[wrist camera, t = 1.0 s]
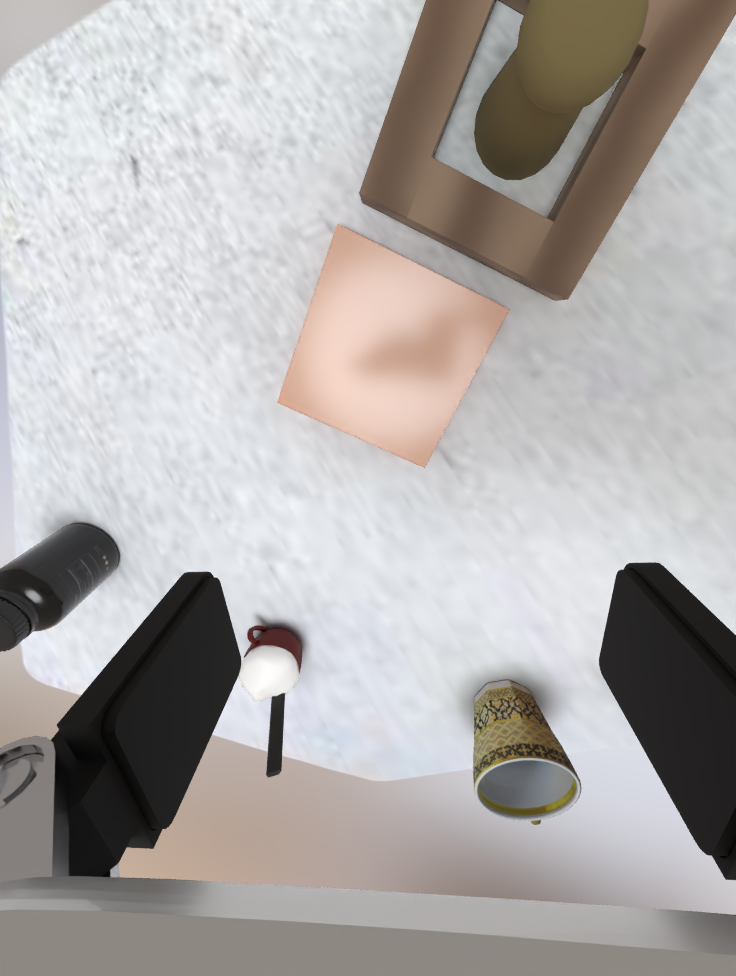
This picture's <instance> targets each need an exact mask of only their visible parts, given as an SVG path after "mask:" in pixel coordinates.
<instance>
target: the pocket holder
mask: <svg viewBox="0 0 736 976" xmlns="http://www.w3.org/2000/svg"><path fill="white" fill-rule="evenodd" d="M499 1H501V2H502V3H504V4H506V5H508V6H509V7H511V8H513V9H514V10H516V11H518V12H520V13H521V14H523V15H525V12H526V9H527V6H528V4H529V1H530V0H499ZM495 3H496V0H426V2H425V5H424V8H423V11H422V13H421V16H420V19H419V22H418V25H417V28H416V31H415V34H414V37H413V39H412V42H411V45H410V48H409V51H408V54H407V57H406V60H405V63H404V65H403V68H402V71H401V74H400V77H399V80H398V83H397V86H396V89H395V91H394V94H393V97H392V100H391V103H390V106H389V109H388V112H387V114H386V117H385V120H384V123H383V126H382V129H381V132H380V135H379V138H378V140H377V143H376V146H375V149H374V152H373V155H372V158H371V161H370V164H369V166H368V169H367V172H366V175H365V178H364V181H363V184H362V187H361V189H360V192H359V194H360V197H361V200H362V203H364V204H366V205H368V206H370V207H372V208H374V209H376V210H378V211H380V212H382V213H384V214H386V215H388V216H390V217H391V218H393V219H395V220H397V221H399V222H401V223H403V224H405V225H407V226H409V227H411V228H413V229H415V230H417V231H419V232H421V233H423V234H425V235H427V236H429V237H431V238H433V239H435V240H437V241H439V242H441V243H443V244H445V245H447V246H449V247H451V248H453V249H455V250H457V251H459V252H461V253H463V254H465V255H467V256H468V257H470V258H472V259H474V260H476V261H478V262H480V263H482V264H484V265H486V266H488V267H490V268H492V269H494V270H496V271H498V272H500V273H502V274H504V275H506V276H508V277H510V278H512V279H514V280H516V281H518V282H520V283H522V284H524V285H526V286H528V287H530V288H532V289H534V290H536V291H538V292H540V293H542V294H543V295H545V296H547V297H549V298H551V299H553V300H565V299H568V298H569V297H570V295H571V293H572V292H573V290H574V288H575V286H576V285H577V283H578V281H579V280H580V278H581V276H582V275H583V273H584V271H585V269H586V268H587V266H588V264H589V263H590V261H591V259H592V258H593V256H594V254H595V253H596V251H597V249H598V247H599V246H600V244H601V242H602V241H603V239H604V237H605V236H606V234H607V232H608V230H609V229H610V227H611V225H612V224H613V222H614V220H615V219H616V217H617V215H618V213H619V212H620V210H621V208H622V207H623V205H624V203H625V202H626V200H627V198H628V196H629V195H630V193H631V191H632V190H633V188H634V186H635V185H636V183H637V181H638V179H639V178H640V176H641V174H642V173H643V171H644V169H645V168H646V166H647V164H648V162H649V161H650V159H651V157H652V156H653V154H654V152H655V151H656V149H657V147H658V145H659V144H660V142H661V140H662V139H663V137H664V135H665V134H666V132H667V130H668V128H669V127H670V125H671V123H672V122H673V120H674V118H675V117H676V115H677V113H678V111H679V110H680V108H681V106H682V105H683V103H684V101H685V100H686V98H687V96H688V95H689V93H690V91H691V89H692V88H693V86H694V84H695V83H696V81H697V79H698V78H699V76H700V74H701V72H702V71H703V69H704V67H705V66H706V64H707V62H708V61H709V59H710V57H711V55H712V54H713V52H714V50H715V49H716V47H717V45H718V44H719V42H720V40H721V38H722V37H723V35H724V33H725V32H726V30H727V28H728V27H729V25H730V23H731V21H732V20H733V18H734V16H735V15H736V0H649V8H648V13H647V17H646V22H645V26H644V31H643V34H642V36H641V38H640V40H639V43H638V45H637V47H636V49H635V51H634V53H633V56H632V58H631V60H630V62H629V64H628V66H627V67H626V68H625V70H624V71H623V72H622V73H623V75H622V77H621V79H620V81H619V83H618V85H617V87H616V89H615V90H614V92H613V94H612V96H611V98H610V100H609V102H608V104H607V106H606V108H605V109H604V111H603V113H602V115H601V117H600V119H599V121H598V123H597V125H596V127H595V128H594V130H593V132H592V134H591V136H590V138H589V140H588V142H587V144H586V146H585V147H584V149H583V151H582V153H581V155H580V157H579V159H578V161H577V163H576V165H575V166H574V168H573V170H572V172H571V174H570V176H569V178H568V180H567V182H566V184H565V185H564V187H563V189H562V191H561V193H560V195H559V197H558V199H557V201H556V203H555V205H554V206H553V208H552V210H551V212H550V214H549V216H548V218H546V217H544V216H542V215H540V214H538V213H536V212H534V211H532V210H530V209H529V208H527V207H525V206H523V205H521V204H519V203H517V202H515V201H513V200H512V199H510V198H508V197H506V196H504V195H502V194H500V193H498V192H496V191H495V190H493V189H491V188H489V187H487V186H485V185H483V184H481V183H479V182H478V181H476V180H474V179H472V178H470V177H468V176H466V175H464V174H462V173H461V172H459V171H457V170H455V169H453V168H451V167H449V166H447V165H445V164H444V163H442V162H440V161H438V160H436V159H434V155H435V153H436V150H437V148H438V145H439V143H440V140H441V138H442V135H443V133H444V130H445V128H446V125H447V123H448V120H449V118H450V115H451V113H452V110H453V108H454V105H455V103H456V100H457V98H458V95H459V93H460V90H461V88H462V85H463V83H464V80H465V78H466V75H467V73H468V70H469V68H470V65H471V63H472V60H473V58H474V55H475V53H476V50H477V48H478V45H479V43H480V40H481V38H482V35H483V33H484V30H485V28H486V25H487V23H488V20H489V18H490V15H491V13H492V10H493V8H494V5H495Z"/></svg>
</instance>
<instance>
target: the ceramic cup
mask: <svg viewBox="0 0 736 976" xmlns="http://www.w3.org/2000/svg"><path fill="white" fill-rule="evenodd" d="M473 773H474V774H473V775H474V791H475V795H476V798H477V800H478V802H479V803H480V804H481V805H482V806H483V807H484V808H485V809H486V810H488V811H489V812H491V813H493V814H495V815H497V816H500V817H503V818H506V819H511V820H519V821H531V823H532V824H534V825H537V824H540V822H541V820H542V819H547V818H551V817H554V816H557V815H559V814H561V813H563V812H565V811H566V810H568V809H569V808H571V807H572V806H573V805H574V804H575V803H576V801H577V800H578V798H579V796H580V793H581V783H580V780H579V778H578V776H577V774H576V772H575V770H574V768H573V766H572V764H571V762H570V760H569V759H568V757H567V755H566V753H565V751H564V750H563V748H562V746H561V744H560V743H559V741H558V740H557V738H556V737H555V735H554V734H553V732H552V731H551V729H550V727H549V725H548V723H547V721H546V720H545V718H544V716H543V714H542V713H541V711H540V709H539V707H538V706H537V704H536V702H535V700H534V698H533V696H532V695H531V693H530V691H529V690H528V689H527V688H526V687H523V686H521V685H519V684H517V683H514V682H512V681H510V680H503V681H497V682H491V683H487V684H486V685H485V686H484V687H483V688H482V689H481V690H480V691H479V693H478V694H477V695H476V696H475V698H474V753H473Z"/></svg>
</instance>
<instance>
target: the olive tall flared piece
mask: <svg viewBox="0 0 736 976" xmlns="http://www.w3.org/2000/svg"><path fill="white" fill-rule="evenodd" d="M648 8H649V0H530V1H529V4H528V6H527V9H526V12H525V15H524V17H523V20H522V23H521V25H520V31H519V39H518V47H517V48H516V50H515V51H514V52H513V54H512V55H511V57H510V58H509V60H508V61H507V62H506V64H505V65H504V67H503V68H502V69H501V71H500V72H499V74H498V75H497V77H496V78H495V79H494V81H493V82H492V84H491V85H490V87H489V88H488V90H487V91H486V93H485V94H484V96H483V97H482V100H481V103H480V106H479V109H478V111H477V114H476V121H475V131H474V135H475V142H476V148H477V152H478V154H479V156H480V158H481V160H482V162H483V164H484V165H485V166H486V167H487V168H488V169H489V170H490V171H491V172H492V173H493V174H494V175H496V176H498V177H501V178H503V179H505V180H521V179H524V178H527V177H529V176H532V175H535V174H536V173H537V172H538V171H540V170H541V169H542V168H544V167H545V166H546V165H547V164H548V163H549V162H550V161H551V159H552V158H553V157H554V155H555V154H556V153H557V151H558V150H559V148H560V146H561V145H562V143H563V141H564V140H565V138H566V136H567V134H568V133H569V131H570V129H571V127H572V126H573V124H574V122H575V120H576V119H577V117H578V115H579V114H580V112H581V110H582V108H583V107H584V106H587V105H590V104H591V103H592V102H593V101H595V100H596V99H597V98H599V97H600V96H601V95H602V94H604V93H605V92H606V91H607V90H608V89H609V88H610V87H611V86H612V85H613V84H614V83H615V81H616V80H617V79H618V77H619V76H620V75H621V74H622V72H623V71H624V70H625V68H626V67H627V66H628V64H629V62H630V60H631V58H632V56H633V53H634V51H635V49H636V47H637V45H638V43H639V40H640V38H641V36H642V34H643V31H644V26H645V22H646V17H647V13H648Z"/></svg>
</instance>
